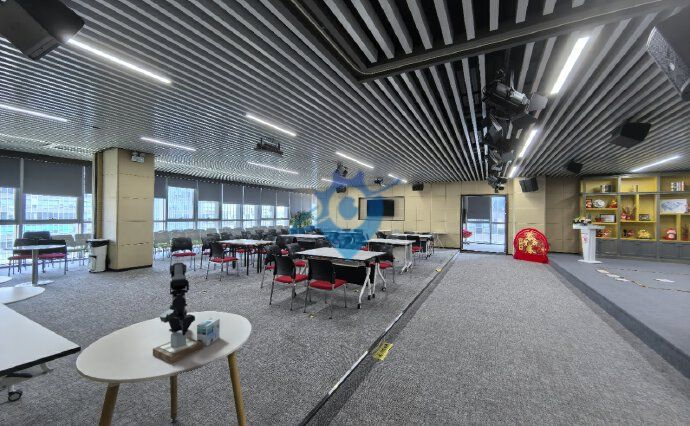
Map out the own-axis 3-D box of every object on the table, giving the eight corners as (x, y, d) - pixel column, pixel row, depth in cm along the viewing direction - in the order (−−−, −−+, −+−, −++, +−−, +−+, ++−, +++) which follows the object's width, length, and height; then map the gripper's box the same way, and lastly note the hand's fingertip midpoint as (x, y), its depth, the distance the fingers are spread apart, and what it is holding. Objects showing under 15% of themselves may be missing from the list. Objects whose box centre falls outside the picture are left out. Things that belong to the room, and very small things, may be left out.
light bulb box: (207, 346, 148) (207, 326, 148) (196, 344, 149) (196, 324, 149) (220, 337, 158) (220, 318, 158) (209, 336, 160) (209, 317, 159)
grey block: (170, 345, 141) (170, 334, 141) (180, 341, 145) (180, 330, 145) (176, 348, 138) (176, 336, 138) (186, 344, 143) (186, 332, 143)
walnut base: (152, 354, 138) (152, 347, 138) (184, 341, 153) (184, 335, 153) (171, 363, 131) (171, 356, 131) (202, 348, 145) (202, 342, 145)
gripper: (151, 304, 139) (151, 335, 139) (173, 311, 130) (173, 344, 130) (174, 298, 148) (173, 327, 149) (195, 304, 140) (195, 334, 140)
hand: (178, 333), depth 141 cm, fingers open, 9 cm apart
